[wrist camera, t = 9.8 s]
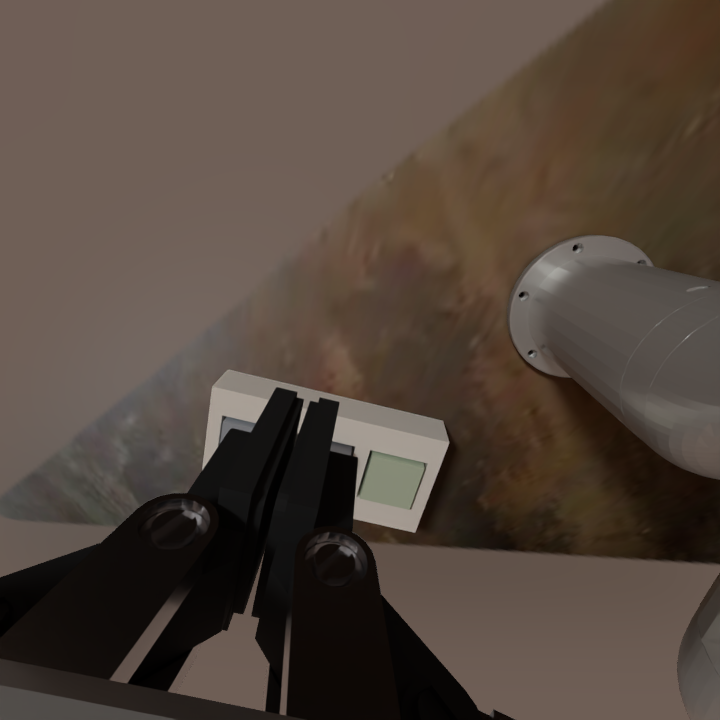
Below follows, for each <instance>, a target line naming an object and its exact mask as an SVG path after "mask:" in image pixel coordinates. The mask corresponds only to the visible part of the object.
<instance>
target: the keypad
mask: <svg viewBox="0 0 720 720" xmlns="http://www.w3.org/2000/svg"><path fill="white" fill-rule="evenodd" d="M276 387H279V388H283V389H287V390H292V391H296V392H297V398H302V399H304V403H303V408H302V412H301V417H300V421H299V426H298V431H297V435H296V440H297V437H298V434H299V431H300V428H301V426H302V423H303V420H304V417H305V414H306V411H307V408H308V406H309V403H310V401H314V402H318V401H319V398H320V397H321V398H325V399H329V400H333V401H338V402H340V404H339V409H338V414H337V419H336V424H335V429H334V434H333V439H332V441H334V442H338V443H342V444H346V445H351V446H352V451H351V456H355V457H358V467H357V480H356V492H355V504H354V516H353V519H357V520H361V521H366V522H370V523H374V524H379V525H383V526H388V527H392V528H397V529H401V530H405V531H410V532H414V533H415V532H416V529H417V526H418V524H419V521H420V519H421V516H422V513H423V511H424V508H425V505H426V503H427V500H428V498H429V495H430V492H431V490H432V487H433V484H434V482H435V479H436V477H437V474H438V471H439V469H440V466H441V464H442V461H443V458H444V456H445V453H446V450H447V448H448V445H449V439H448V436H447V433H446V429H445V426H444V422H443V421H442V420H437V419H433V418H429V417H425V416H421V415H417V414H412V413H408V412H404V411H400V410H396V409H391V408H387V407H383V406H379V405H375V404H371V403H366V402H362V401H358V400H354V399H350V398H346V397H341V396H337V395H333V394H329V393H325V392H321V391H316V390H312V389H308V388H304V387H300V386H295V385H291V384H287V383H283V382H279V381H275V380H270V379H266V378H262V377H258V376H254V375H250V374H245V373H241V372H237V371H233V370H229V369H228V370H227V371H226V372H225V373H224V374H223V375H222V376H221V377H220V379H219V380H218V381H217V382H216V383H215V384H214V385H213V386H212V393H211V401H210V410H209V418H208V426H207V434H206V443H205V451H204V459H203V468H202V470H203V469H204V467H205V466H206V464H207V463H208V461H209V460H210V458H211V457H212V455H213V454H214V452H215V451H216V449H217V448H218V446H219V445H220V440H221V433H222V426H223V421H224V420H225V418H226V417H231V418H235V419H240V420H244V421H248V422H252V423H256V422H257V421H258V419H259V417H260V415H261V413H262V412H263V410H264V408H265V406H266V405H267V403H268V401H269V399H270V397H271V396H272V394H273V392H274V390H275V389H276ZM296 440H295V443H296ZM294 446H295V445H294ZM370 450H372V451H376V452H381V453H385V454H389V455H393V456H398V457H402V458H406V459H411V460H415V461H419V462H423V463H424V468H425V469H424V472H423V474H422V477H421V480H420V482H419V485H418V488H417V491H416V493H415V496H414V499H413V502H412V504H411V507H410V510H408V509H403V508H399V507H394V506H390V505H386V504H381V503H377V502H372V501H368V500H364V499H360V486H361V479H362V476H363V473H364V469H365V466H366V463H367V459H368V456H369V453H370Z"/></svg>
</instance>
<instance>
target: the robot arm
mask: <svg viewBox="0 0 720 720" xmlns="http://www.w3.org/2000/svg"><path fill="white" fill-rule="evenodd" d="M574 245H576V248H575V250H572V249H573V246H574ZM520 292H523V295H522V296H521V297H519V294H520ZM507 325H508V330H509V335H510V337H511V340H512V342H513V345H514V346H515V348H516V349H517V350H518V352H519V353H520V355H521V356H522V357H523V358H524V359H525V360H526V361H527V362H528V363H530V364H531V365H532V366H534V367H535V368H536V369H538V370H540V371H542V372H544V373H547V374H549V375H553V376H557V377H565V378H573V379H574V380H575V381H576V382H577V383H578V384H579V385H580V386H581V387H583V388H584V389H585V390H586V391H587V392H588V393H589V394H590V395H591V396H593V397H594V398H595V399H596V400H597V401H598V402H599V403H600V404H602V405H603V406H604V407H605V408H606V409H607V410H608V411H609V412H610V413H612V414H613V415H614V416H615V417H616V418H617V419H618V420H619V421H620V422H622V423H623V424H624V425H625V426H626V427H627V428H628V429H629V430H630V431H632V432H633V433H634V434H635V435H636V436H637V437H638V438H640V439H641V440H642V441H643V442H645V443H646V444H647V445H648V446H649V447H650V448H651V449H653V450H654V451H655V452H656V453H658V454H659V455H660V456H662V457H663V458H664V459H666V460H667V461H669V462H671V463H673V464H674V465H676V466H678V467H680V468H682V469H685V470H687V471H690V472H693V473H695V474H698V475H701V476H705V477H709V478H714V479H719V480H720V282H717V281H713V280H709V279H704V278H700V277H695V276H691V275H687V274H682V273H678V272H673V271H669V270H664V269H660V268H656V267H654V265H653V263H652V262H651V260H650V259H649V258H648V257H647V256H646V255H645V253H644V252H643V251H642V250H640V249H639V248H637V247H636V246H634V245H633V244H632V243H630V242H627V241H624V240H622V239H619V238H615V237H610V236H601V235H587V236H579V237H574V238H571V239H568V240H565V241H562V242H560V243H558V244H556V245H554V246H552V247H550V248H548V249H547V250H545V251H544V252H543V253H542V254H540V255H539V256H538V257H536V258H535V259H534V260H533V261H532V262H531V263H530V264H529V265H528V266H527V268H526V269H525V270H524V271H523V273H522V274H521V276H520V277H519V279H518V280H517V282H516V284H515V286H514V288H513V291H512V293H511V295H510V299H509V304H508V308H507ZM530 350H532V351H531V352H530V353H528V352H529V351H530ZM303 403H304V399H302V398H297V392H296V391H292V390H287V389H283V388H279V387H276V389H275V390H274V392H273V394H272V396H271V397H270V399H269V401H268V403H267V405H266V406H265V408H264V410H263V412H262V413H261V415H260V417H259V419H258V421H257V422H256V424H255V426H254V428H253V429H252V431H251V432H247V431H243V430H239V429H234V428H231V429H230V430H229V431H228V433H227V434H226V436H225V437H224V439H223V440H222V442H221V443H220V445H219V446H218V448H217V449H216V451H215V452H214V454H213V455H212V457H211V458H210V460H209V461H208V463H207V464H206V466H205V467H204V469H203V470H202V472H201V473H200V475H199V476H198V478H197V479H196V481H195V482H194V484H193V485H192V487H191V488H190V490H189V491H188V493H171V494H166V495H161V496H158V497H156V498H154V499H151V500H149V501H147V502H145V503H144V504H143V505H141V506H140V507H139V508H137V509H136V510H135V511H134V512H133V513H132V514H131V515H130V516H129V517H128V518H127V519H125V520H124V521H123V522H122V523H121V524H120V525H119V526H118V527H117V528H116V529H115V530H114V531H113V532H112V533H111V534H110V535H109V536H107V538H105V539H104V540H103V541H102V542H101V543H99V544H96V545H93V546H90V547H87V548H84V549H81V550H79V551H76V552H73V553H70V554H67V555H64V556H61V557H58V558H55V559H53V560H49V561H47V562H44V563H41V564H38V565H35V566H32V567H29V568H26V569H23V570H21V571H18V572H15V573H12V574H9V575H6V576H3V577H1V578H0V720H515V719H513V718H511V717H509V716H507V715H505V714H502V713H500V712H498V711H496V710H493V711H492V712H491V714H490V715H488V714H486V713H483V712H481V711H479V710H478V709H477V707H476V705H475V703H474V702H473V701H472V699H471V698H470V696H469V695H468V694H467V692H466V691H465V689H464V688H463V687H462V686H461V685H460V684H459V683H458V682H457V680H456V679H455V678H454V677H453V676H452V675H451V673H450V672H449V671H448V670H447V669H446V668H445V667H444V665H443V664H442V663H441V662H440V661H439V660H438V659H437V658H436V656H435V655H434V654H433V653H432V652H431V651H430V650H429V649H428V647H427V646H426V645H425V644H424V643H423V642H422V640H421V639H420V638H419V637H418V636H417V635H416V634H415V632H414V631H413V630H412V629H411V628H410V627H409V626H408V624H407V623H406V622H405V621H404V620H403V619H402V618H401V616H400V615H399V614H398V613H397V612H396V611H395V610H394V608H393V607H392V606H391V605H390V604H389V603H388V602H387V601H386V599H385V598H384V597H383V596H382V595H381V591H380V585H379V579H378V573H377V566H376V561H375V558H374V555H373V552H372V550H371V549H370V547H369V546H368V544H367V543H366V542H365V541H364V540H363V539H362V538H361V537H359V536H358V535H357V534H355V533H353V532H352V529H353V516H354V504H355V492H356V480H357V467H358V457H355V456H350V455H346V454H342V453H337V452H333V451H330V449H331V444H332V439H333V434H334V429H335V424H336V419H337V414H338V409H339V404H340V402H338V401H333V400H329V399H325V398H321V397H320V398H319V401H318V402H314V401H310V403H309V406H308V408H307V411H306V414H305V417H304V420H303V423H302V426H301V428H300V431H299V434H298V437H297V440H296V435H297V431H298V426H299V421H300V417H301V412H302V408H303ZM295 440H296V443H295ZM294 445H295V446H294ZM264 551H265V552H264ZM263 554H264V557H263V562H262V567H261V571H260V577H259V581H258V586H257V591H256V595H255V600H254V605H253V611H252V616H253V617H258V618H259V623H258V627H257V632H256V637H255V639H256V641H257V643H258V644H259V646H260V648H261V650H262V651H263V653H264V655H265V657H266V658H267V660H268V666H267V670H266V677H265V686H264V696H263V706H262V711H260V710H255V709H250V708H245V707H240V706H235V705H231V704H226V703H221V702H216V701H211V700H206V699H201V698H196V697H191V696H186V695H181V694H176V693H177V691H178V689H179V687H180V685H181V684H182V682H183V680H184V678H185V677H186V675H187V673H188V671H189V670H190V668H191V666H192V664H193V662H194V661H195V659H196V657H197V654H198V651H199V649H200V646H201V643H202V642H204V641H205V640H207V639H209V638H211V637H212V636H214V635H216V634H217V633H219V632H221V631H222V630H226V631H227V630H228V627H229V624H230V621H231V619H232V615H233V613H238V614H243V613H244V611H245V608H246V605H247V602H248V599H249V596H250V593H251V590H252V587H253V584H254V581H255V578H256V574H257V572H258V569H259V566H260V563H261V559H262V556H263ZM677 672H678V682H679V689H680V692H681V696H682V700H683V703H684V706H685V708H686V711H687V714H688V716H689V718H690V720H720V573H719V575H718V577H717V578H716V580H715V582H714V583H713V584H712V586H711V588H710V589H709V591H708V592H707V594H706V596H705V597H704V599H703V601H702V602H701V603H700V606H699V608H698V610H697V611H696V613H695V615H694V616H693V618H692V620H691V622H690V624H689V626H688V628H687V630H686V632H685V634H684V637H683V639H682V642H681V645H680V650H679V655H678V662H677Z"/></svg>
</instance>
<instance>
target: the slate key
mask: <svg viewBox="0 0 720 720" xmlns="http://www.w3.org/2000/svg"><path fill="white" fill-rule="evenodd" d="M255 424H256V423H252V422H248V421H244V420H240V419H235V418H231V417H226V418H225V420H224V421H223V426H222V433H221V440H220V443H221V442H222V440H223V439H224V437H225V436H226V434H227V433H228V431H229V430H230V429H231V428H234V429H239V430H243V431H247V432H251V431H252V429H253V428H254V426H255Z"/></svg>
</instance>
